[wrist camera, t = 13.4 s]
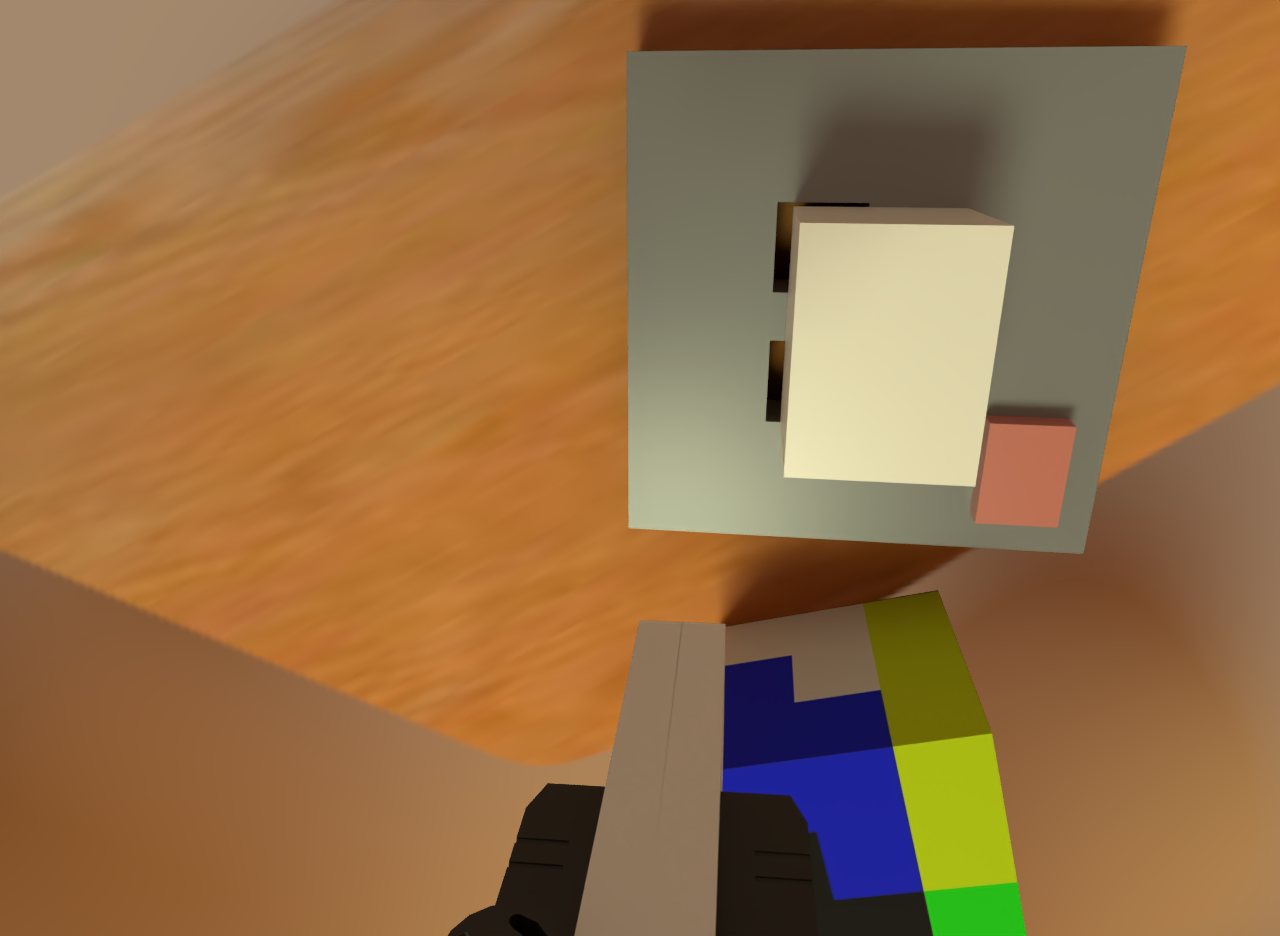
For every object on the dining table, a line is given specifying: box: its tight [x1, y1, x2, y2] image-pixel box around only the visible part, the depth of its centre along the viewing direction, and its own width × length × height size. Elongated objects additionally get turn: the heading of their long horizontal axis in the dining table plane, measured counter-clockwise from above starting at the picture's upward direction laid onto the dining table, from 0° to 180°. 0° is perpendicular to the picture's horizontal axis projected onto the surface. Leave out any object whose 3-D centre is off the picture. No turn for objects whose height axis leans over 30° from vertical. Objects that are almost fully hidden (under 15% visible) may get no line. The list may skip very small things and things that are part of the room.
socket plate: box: [627, 46, 1187, 554], centre depth 33 cm, size 18×18×4 cm
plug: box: [780, 206, 1014, 487], centre depth 31 cm, size 6×8×9 cm
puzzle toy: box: [722, 590, 1026, 936], centre depth 37 cm, size 10×10×10 cm
